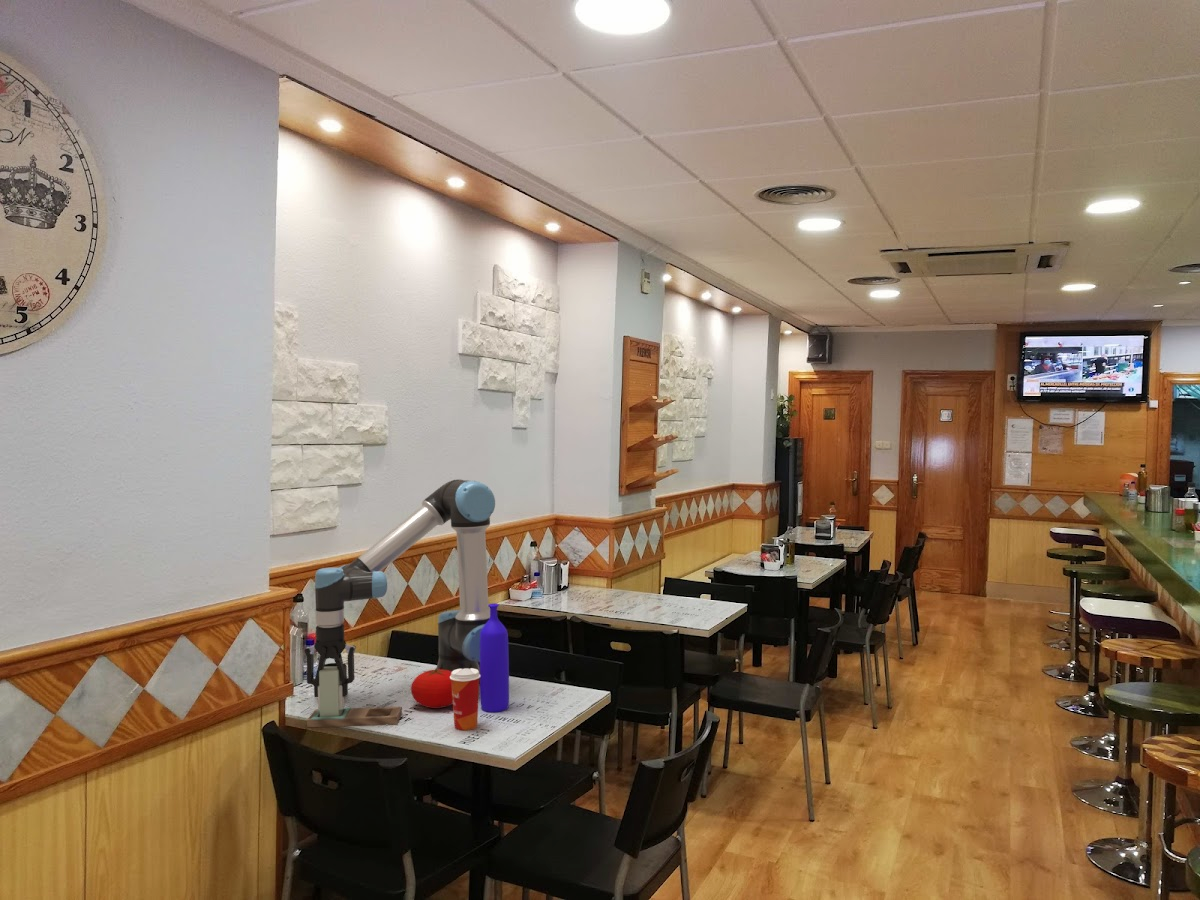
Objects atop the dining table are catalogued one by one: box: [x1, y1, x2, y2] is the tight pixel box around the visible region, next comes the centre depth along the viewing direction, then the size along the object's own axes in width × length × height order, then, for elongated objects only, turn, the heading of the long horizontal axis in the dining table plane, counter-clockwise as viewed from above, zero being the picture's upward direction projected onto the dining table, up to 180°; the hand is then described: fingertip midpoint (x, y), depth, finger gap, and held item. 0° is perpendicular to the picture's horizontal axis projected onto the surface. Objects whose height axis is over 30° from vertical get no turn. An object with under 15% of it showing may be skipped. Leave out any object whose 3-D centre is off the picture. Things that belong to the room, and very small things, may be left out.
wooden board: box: [306, 706, 403, 728], centre depth 245 cm, size 24×9×2 cm, turn 94°
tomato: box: [410, 668, 453, 709], centre depth 258 cm, size 14×13×10 cm
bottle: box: [479, 603, 510, 713], centre depth 254 cm, size 8×8×30 cm
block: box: [319, 666, 343, 717], centre depth 245 cm, size 5×5×14 cm
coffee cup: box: [450, 668, 480, 731], centre depth 239 cm, size 8×8×15 cm
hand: (331, 708), depth 245 cm, fingers closed on block, 5 cm apart
